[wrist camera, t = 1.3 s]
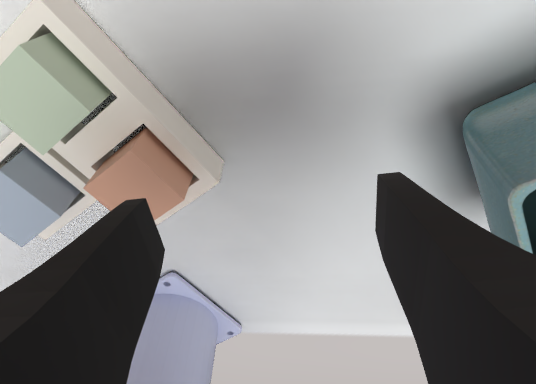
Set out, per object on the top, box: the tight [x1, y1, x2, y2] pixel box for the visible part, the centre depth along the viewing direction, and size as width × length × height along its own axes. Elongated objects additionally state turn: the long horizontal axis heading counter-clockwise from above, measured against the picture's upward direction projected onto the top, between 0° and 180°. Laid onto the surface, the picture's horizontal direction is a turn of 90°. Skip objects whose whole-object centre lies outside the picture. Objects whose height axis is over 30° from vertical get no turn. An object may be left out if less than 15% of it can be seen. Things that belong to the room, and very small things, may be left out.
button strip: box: [0, 0, 224, 226], centre depth 20 cm, size 5×11×2 cm, turn 37°
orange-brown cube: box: [83, 127, 193, 220], centre depth 19 cm, size 3×3×3 cm
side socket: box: [0, 131, 98, 241], centre depth 21 cm, size 5×5×2 cm
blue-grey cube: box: [0, 147, 80, 247], centre depth 20 cm, size 3×3×3 cm
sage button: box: [0, 32, 112, 155], centre depth 17 cm, size 3×3×3 cm
